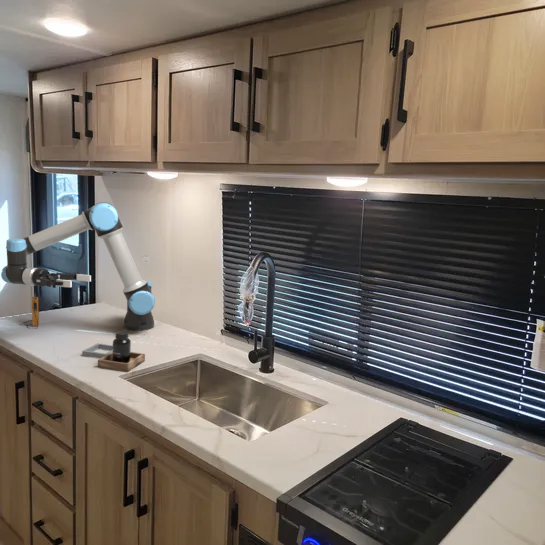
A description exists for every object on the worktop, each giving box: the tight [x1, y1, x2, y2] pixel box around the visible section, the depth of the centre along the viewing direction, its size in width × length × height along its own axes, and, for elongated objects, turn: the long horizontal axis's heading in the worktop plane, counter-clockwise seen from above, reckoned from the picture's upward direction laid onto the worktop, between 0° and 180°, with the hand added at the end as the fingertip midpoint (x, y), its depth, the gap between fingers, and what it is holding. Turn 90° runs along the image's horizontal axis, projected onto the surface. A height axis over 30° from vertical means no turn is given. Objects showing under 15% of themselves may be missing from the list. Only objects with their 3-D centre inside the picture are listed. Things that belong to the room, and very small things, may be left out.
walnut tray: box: [97, 351, 146, 373], centre depth 194 cm, size 13×13×3 cm
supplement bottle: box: [112, 330, 132, 363], centre depth 193 cm, size 7×7×12 cm
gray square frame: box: [81, 343, 113, 359], centre depth 205 cm, size 11×11×2 cm
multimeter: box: [16, 285, 40, 329], centre depth 237 cm, size 15×10×20 cm
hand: (81, 281), depth 206 cm, fingers open, 13 cm apart
